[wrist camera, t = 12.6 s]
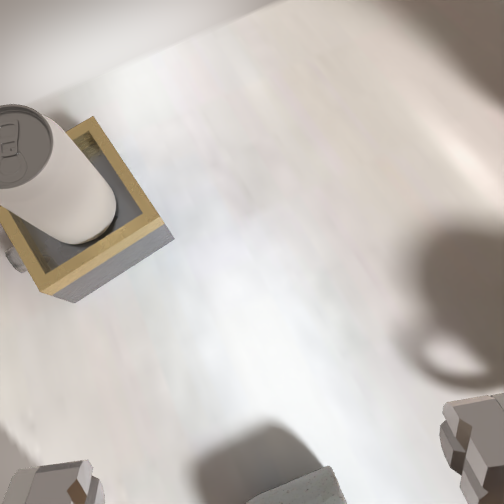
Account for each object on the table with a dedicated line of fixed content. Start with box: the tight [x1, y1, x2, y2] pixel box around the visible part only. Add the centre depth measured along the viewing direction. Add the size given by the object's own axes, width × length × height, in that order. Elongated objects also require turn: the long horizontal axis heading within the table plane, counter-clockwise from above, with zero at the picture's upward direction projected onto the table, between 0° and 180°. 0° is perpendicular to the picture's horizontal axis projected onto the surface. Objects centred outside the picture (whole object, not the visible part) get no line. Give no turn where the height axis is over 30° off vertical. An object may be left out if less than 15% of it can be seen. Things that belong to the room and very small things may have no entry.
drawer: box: [0, 116, 174, 303], centre depth 41 cm, size 13×11×7 cm
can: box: [0, 104, 116, 244], centre depth 33 cm, size 6×6×12 cm
